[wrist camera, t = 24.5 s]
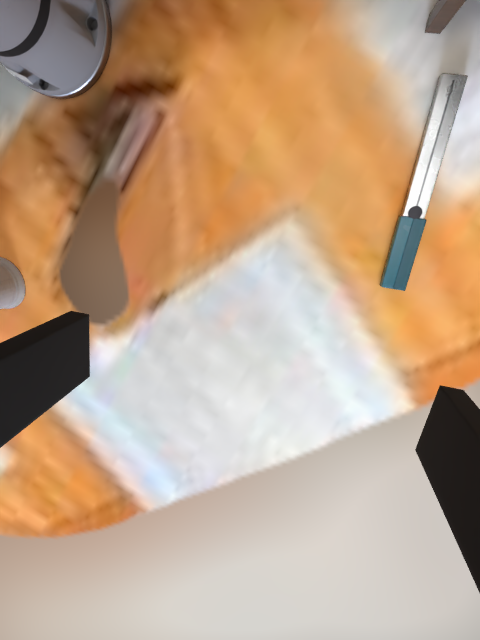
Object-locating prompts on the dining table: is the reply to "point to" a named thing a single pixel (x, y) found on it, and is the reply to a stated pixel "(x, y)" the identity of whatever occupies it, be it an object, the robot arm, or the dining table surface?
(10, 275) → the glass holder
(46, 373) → the robot arm
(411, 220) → the blue grooved block
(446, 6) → the stand
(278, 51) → the dining table surface
